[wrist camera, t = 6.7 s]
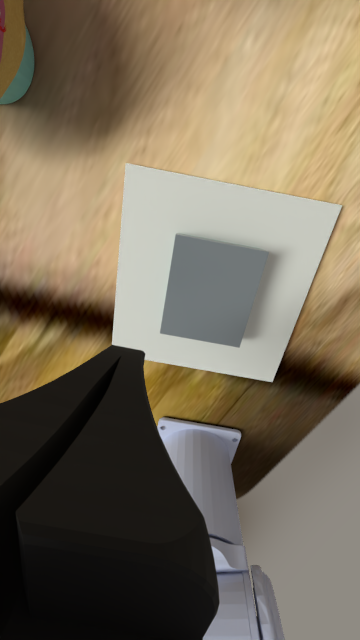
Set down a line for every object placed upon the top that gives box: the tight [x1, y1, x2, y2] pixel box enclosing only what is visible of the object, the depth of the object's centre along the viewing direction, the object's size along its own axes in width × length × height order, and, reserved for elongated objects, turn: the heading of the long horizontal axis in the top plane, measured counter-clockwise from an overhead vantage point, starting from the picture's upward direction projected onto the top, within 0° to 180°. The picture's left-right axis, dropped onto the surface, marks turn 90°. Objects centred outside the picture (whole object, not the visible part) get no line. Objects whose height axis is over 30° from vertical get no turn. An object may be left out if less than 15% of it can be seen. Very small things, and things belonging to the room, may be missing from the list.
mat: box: [112, 163, 342, 382], centre depth 18 cm, size 14×14×1 cm
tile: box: [160, 233, 269, 348], centre depth 17 cm, size 2×7×6 cm
